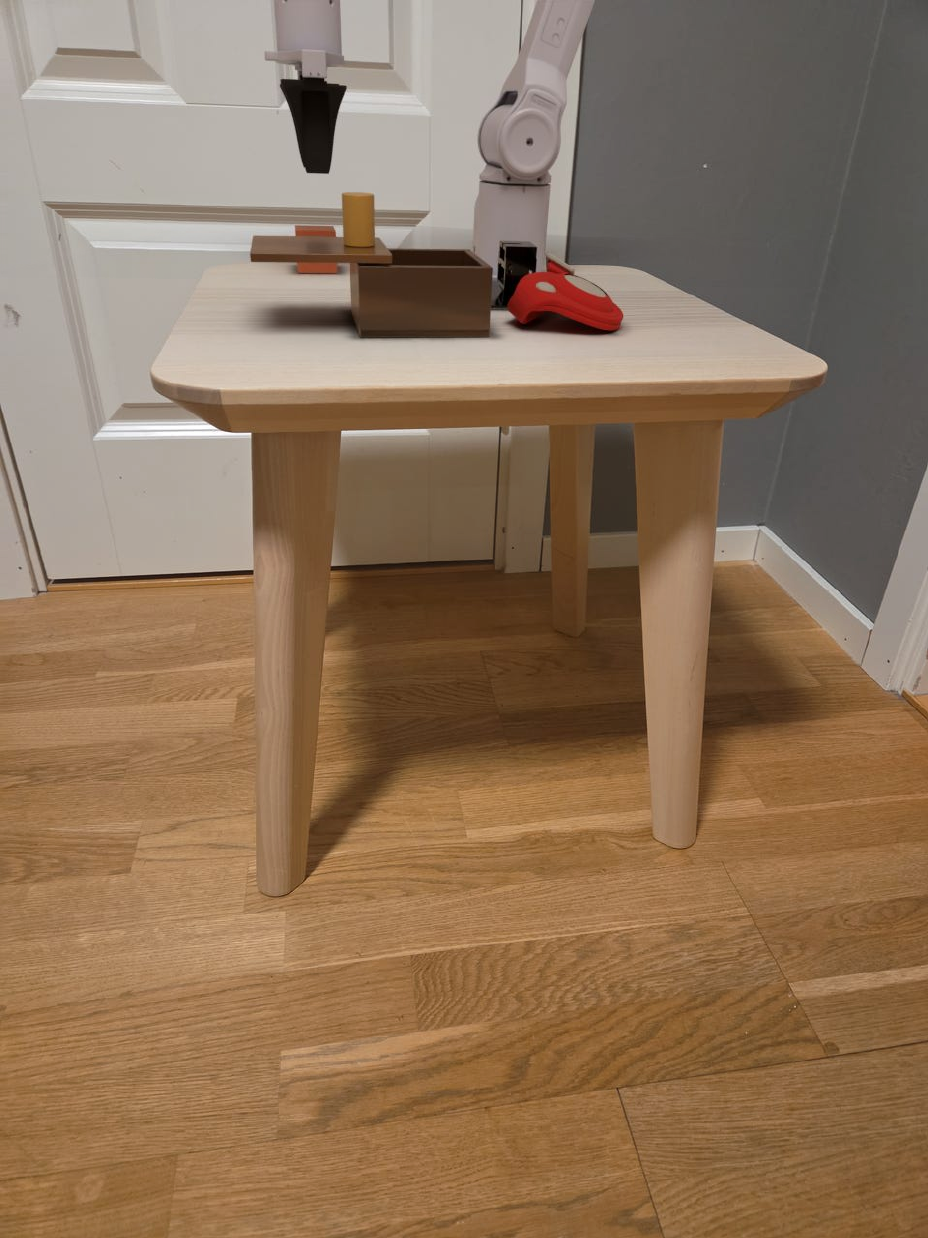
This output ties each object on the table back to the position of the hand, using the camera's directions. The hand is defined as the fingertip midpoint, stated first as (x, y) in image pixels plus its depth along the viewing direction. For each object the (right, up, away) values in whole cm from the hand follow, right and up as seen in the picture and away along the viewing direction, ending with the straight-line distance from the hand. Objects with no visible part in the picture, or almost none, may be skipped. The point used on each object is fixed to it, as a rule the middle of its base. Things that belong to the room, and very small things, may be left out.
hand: (315, 170), depth 78 cm
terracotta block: (-1, -6, +7) cm, 10 cm away
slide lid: (+3, -15, -16) cm, 23 cm away
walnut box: (+10, -19, -12) cm, 25 cm away
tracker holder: (+23, -17, -9) cm, 30 cm away
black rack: (+19, -12, 0) cm, 23 cm away
